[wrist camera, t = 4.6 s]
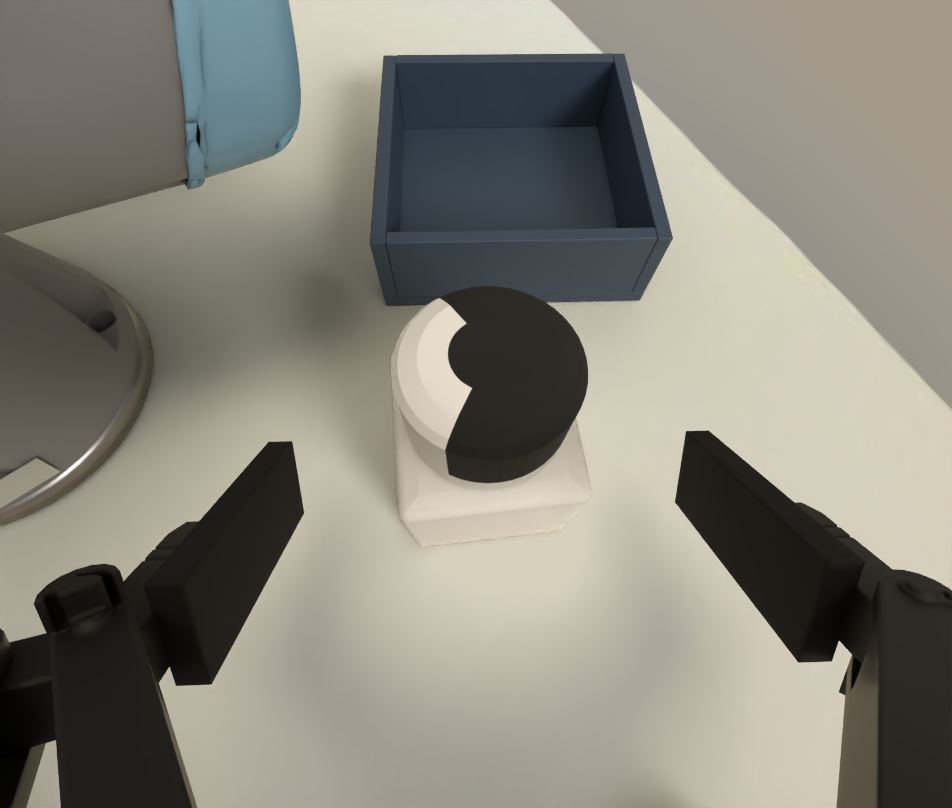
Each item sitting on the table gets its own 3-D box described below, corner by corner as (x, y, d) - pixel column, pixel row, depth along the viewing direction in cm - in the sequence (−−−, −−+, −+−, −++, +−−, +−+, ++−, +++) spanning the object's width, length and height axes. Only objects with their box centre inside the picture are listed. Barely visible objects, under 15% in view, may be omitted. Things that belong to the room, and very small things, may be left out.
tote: (386, 305, 29) (369, 243, 24) (395, 131, 35) (383, 55, 31) (640, 300, 29) (673, 238, 25) (603, 129, 36) (624, 53, 31)
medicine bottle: (537, 401, 26) (584, 248, 16) (561, 531, 24) (641, 456, 13) (408, 414, 26) (364, 267, 15) (417, 548, 23) (370, 486, 12)
